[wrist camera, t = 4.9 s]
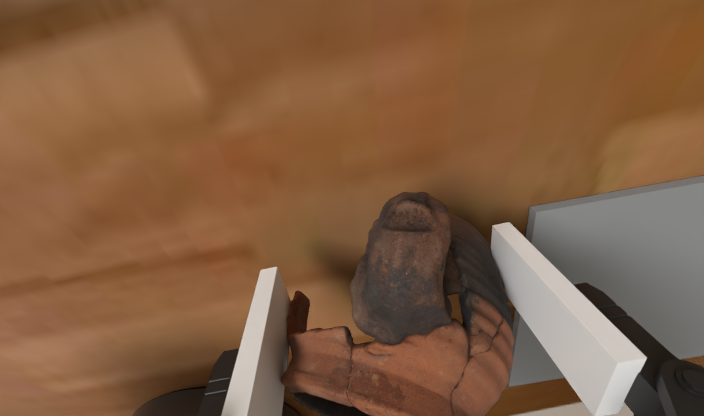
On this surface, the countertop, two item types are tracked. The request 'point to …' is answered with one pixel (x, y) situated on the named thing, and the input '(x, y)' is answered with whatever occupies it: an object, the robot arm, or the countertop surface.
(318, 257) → the countertop surface
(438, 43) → the countertop surface
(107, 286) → the countertop surface
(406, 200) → the broken terracotta jug
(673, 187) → the gray mat
